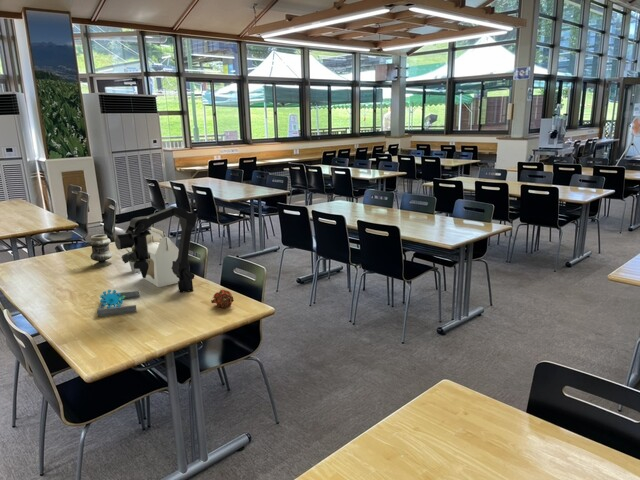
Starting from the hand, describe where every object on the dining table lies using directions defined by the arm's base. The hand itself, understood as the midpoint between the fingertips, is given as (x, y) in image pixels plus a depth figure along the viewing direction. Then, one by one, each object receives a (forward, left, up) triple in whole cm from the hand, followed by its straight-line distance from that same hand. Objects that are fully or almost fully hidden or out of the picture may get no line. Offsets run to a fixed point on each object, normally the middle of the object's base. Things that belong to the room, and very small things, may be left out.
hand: (144, 277), depth 215 cm
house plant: (+7, -54, -12) cm, 55 cm away
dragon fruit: (-33, +19, -12) cm, 40 cm away
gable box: (-6, -32, -12) cm, 35 cm away
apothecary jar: (+29, -76, -12) cm, 82 cm away
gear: (+14, +2, -12) cm, 19 cm away
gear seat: (+12, +2, -12) cm, 17 cm away
